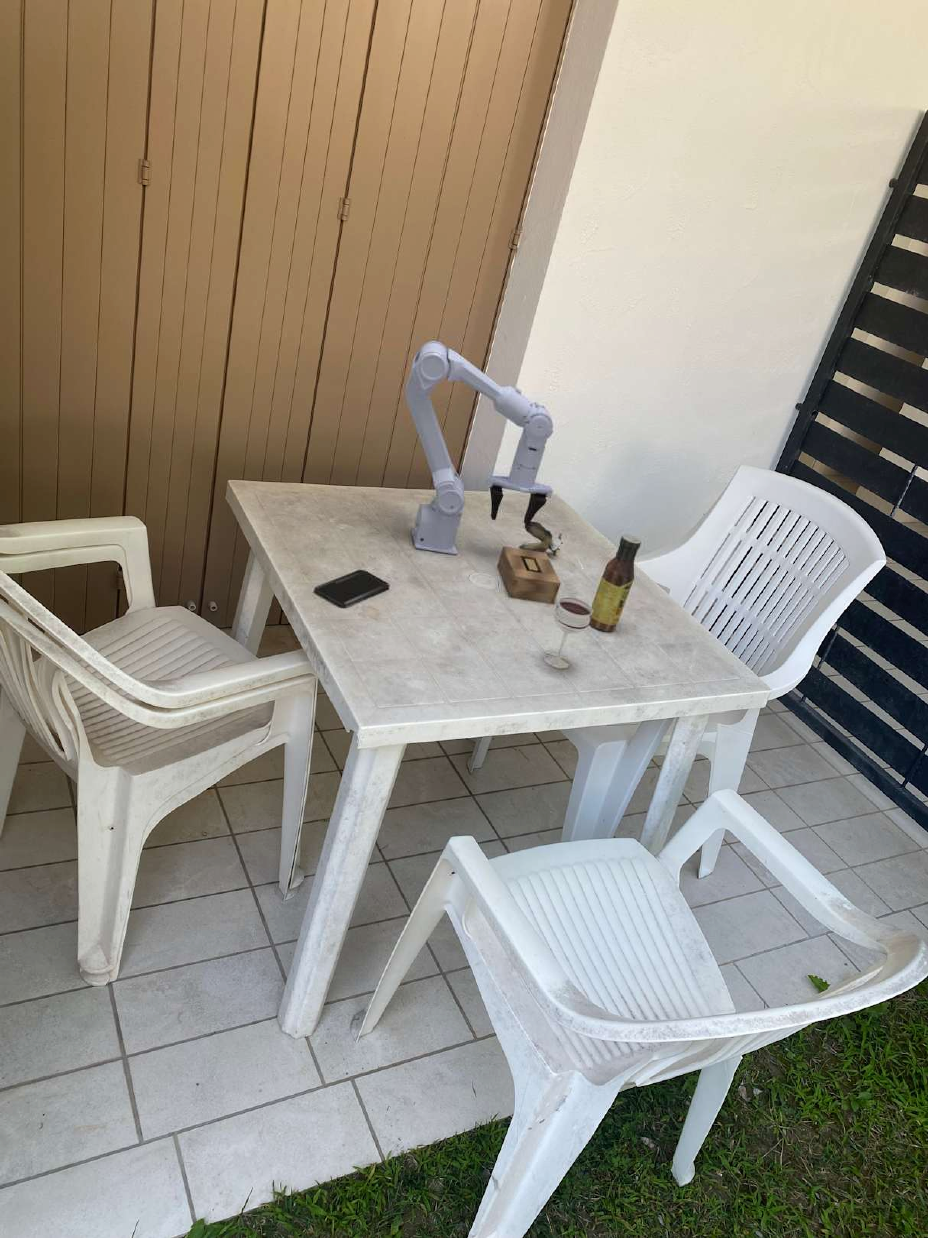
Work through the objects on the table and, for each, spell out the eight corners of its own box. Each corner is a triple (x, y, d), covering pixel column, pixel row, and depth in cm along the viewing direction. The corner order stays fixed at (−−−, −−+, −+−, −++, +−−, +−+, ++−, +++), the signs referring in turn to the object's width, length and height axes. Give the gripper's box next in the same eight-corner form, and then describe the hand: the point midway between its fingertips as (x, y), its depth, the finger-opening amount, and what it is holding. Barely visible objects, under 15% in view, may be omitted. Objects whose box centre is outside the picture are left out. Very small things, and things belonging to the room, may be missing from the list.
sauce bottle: (614, 636, 190) (647, 550, 181) (585, 626, 190) (616, 540, 181) (616, 622, 196) (647, 538, 186) (587, 613, 196) (617, 529, 187)
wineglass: (544, 646, 179) (563, 593, 173) (577, 660, 177) (597, 606, 172) (534, 661, 173) (553, 606, 167) (568, 675, 172) (588, 620, 166)
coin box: (508, 597, 194) (515, 576, 191) (497, 566, 205) (503, 545, 203) (553, 603, 196) (560, 583, 194) (539, 572, 208) (546, 553, 205)
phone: (392, 585, 184) (343, 606, 172) (390, 590, 184) (342, 611, 172) (361, 568, 187) (311, 587, 175) (360, 573, 187) (310, 592, 175)
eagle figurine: (554, 541, 223) (520, 528, 220) (568, 527, 217) (533, 513, 215) (549, 567, 219) (515, 554, 217) (563, 554, 213) (528, 539, 211)
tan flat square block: (523, 589, 198) (529, 569, 196) (518, 578, 203) (524, 558, 200) (531, 591, 199) (538, 570, 197) (527, 580, 203) (533, 559, 201)
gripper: (497, 464, 193) (480, 523, 199) (562, 476, 197) (544, 534, 203) (491, 452, 199) (475, 509, 205) (554, 464, 203) (537, 520, 209)
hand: (509, 520), depth 205 cm, fingers open, 7 cm apart
